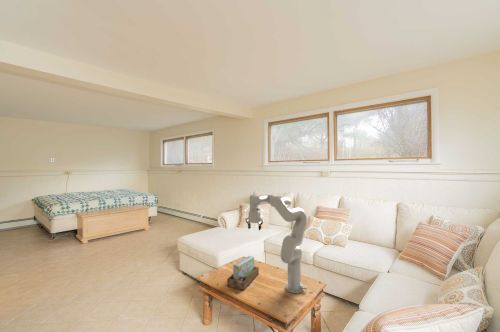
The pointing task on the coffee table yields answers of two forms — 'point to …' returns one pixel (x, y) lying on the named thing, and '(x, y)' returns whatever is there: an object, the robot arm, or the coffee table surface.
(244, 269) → the snack box
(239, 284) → the walnut crate
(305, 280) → the coffee table surface
